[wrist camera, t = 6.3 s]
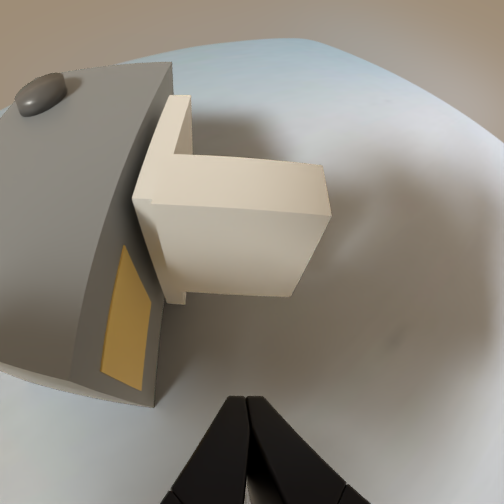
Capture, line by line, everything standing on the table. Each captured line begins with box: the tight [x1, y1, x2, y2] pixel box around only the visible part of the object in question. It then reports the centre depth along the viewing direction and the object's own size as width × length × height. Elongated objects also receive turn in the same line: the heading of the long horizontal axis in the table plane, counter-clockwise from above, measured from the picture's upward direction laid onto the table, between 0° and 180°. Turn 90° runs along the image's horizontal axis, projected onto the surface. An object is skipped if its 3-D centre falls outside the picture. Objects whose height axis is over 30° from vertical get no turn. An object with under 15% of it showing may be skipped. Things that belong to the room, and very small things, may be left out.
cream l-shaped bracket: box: [132, 95, 332, 305], centre depth 11 cm, size 6×5×8 cm
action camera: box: [0, 62, 174, 408], centre depth 11 cm, size 14×7×9 cm, turn 179°
